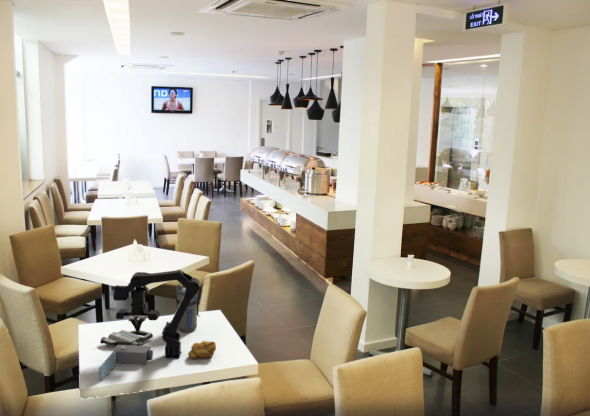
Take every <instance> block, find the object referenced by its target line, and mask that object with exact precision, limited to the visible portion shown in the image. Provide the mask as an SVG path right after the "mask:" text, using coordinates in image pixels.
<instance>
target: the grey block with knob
mask: <svg viewBox="0 0 590 416" xmlns="http://www.w3.org/2000/svg"><path fill="white" fill-rule="evenodd" d="M113 351H115V352H116V364H115V365H130V366H133V365H134V366H147V364H148V363H149V361H152V360H153V357H154V351H153V349H151V346H150V345H140V346H137V345H117V346H115V348H114V349H113ZM113 351H112V352H113Z"/></svg>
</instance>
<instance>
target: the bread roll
mask: <svg viewBox="0 0 590 416" xmlns="http://www.w3.org/2000/svg"><path fill="white" fill-rule="evenodd" d="M216 349H217V345H216V342H215V341H206V340H202V341H200V342H195V343H193V344H192V345H191V350H189V351H188V353H187V355H188V358H189V359H191V360H198V359H205V360H206V359H209V358H212V357H213V356H214V353H215V352H216Z"/></svg>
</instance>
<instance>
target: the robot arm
mask: <svg viewBox="0 0 590 416" xmlns="http://www.w3.org/2000/svg"><path fill="white" fill-rule="evenodd" d="M170 281H171V282H172V281H177V282H178V283H179V284H180V285H181V286H184V287H185V288H186V290H185V294H184V297H183V299H182V301H181V303H180V305H179V307H178V306H177V309H176V310H175V313H174V315H173V316H172V319H171V320H170V322H168V321H166V323H165V326H164V327H163V328H162V331H161V335H162V336H161V338H162V340H163V342H164V343H165V346H164V355H165V356H164V358H165V359H180V357H181V355H182V350H181V349H182V343H181V341H180V340H181V334H180V333H178V325H179V323H180V321H181V319H182V317H183V315H184V313H185V311H186V309H187V307H188V305H189V303H190V301H191V299H192V298H193V297H194V296H195V295H196V293H197V294H198V293H199V287H200V285H201V282H200V280H199V279H198V278H196V277H194V276H192V275H190V274H189V273H186V272H184V271H183V270H181V269H176V270H169V271H161V272H160V271H159V272H154V273H153V272H152V273H149V272H146V271H145V272H142V271H141V272H140V271H138V272H135V273H134V274H133V275H132V276H131V278H130V280H129V282H128V284H127V285H117V284H116V285H115V286H114V291H113V294H112V295H113V300H114V301H117V302H119V301H128V300H129V299H130V301H131V302H130V308H131V310H130V311H129V309H127V308H120V309H119V310H118V311H117V312H116V313H115V319H116V320H124V318H125V317H128V322H130V323H131V325H132V326H133V327H134V330H136V332H139V331H140V330H141V328H142V324H143V323H144V322H146V320H147V319H148V320H149V321H158V319H159V317H160V311H159V310H155V309H154V310H153V309H150V310H149V312H146V311H147V310H148V302H146V300H145V293H148V291H149V290H150V289H149V287H147V286H148V285H150V284H155V283H163V282H170Z"/></svg>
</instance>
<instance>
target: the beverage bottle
mask: <svg viewBox="0 0 590 416" xmlns="http://www.w3.org/2000/svg"><path fill="white" fill-rule="evenodd" d="M185 290H186V288H185V287H184V286H183V285H181V284H177V286H176V288H175V294H176V297H177V301H178V302H177V308H178V307H179V305H180V303H181V301H182V299H183V297H184V294H185ZM201 296H202V285H201V284H200V287H199V291H198V292H197V293H196V295H195V296H194V297H193V298H192V299H191V301H190V303H189V305H188V307H187V309H186V311H185V313H184V315H183V317H182V319H181V321H180V323H179V325H178V328H177V330H179V331H180V332H184V333H186V332H187V333H189V332H192V331H195V330H196V329H197V327H198V317H199V318H201V316H200V315H199V309H200V308H199V306H200V305H199V304H200V300H201Z"/></svg>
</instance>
